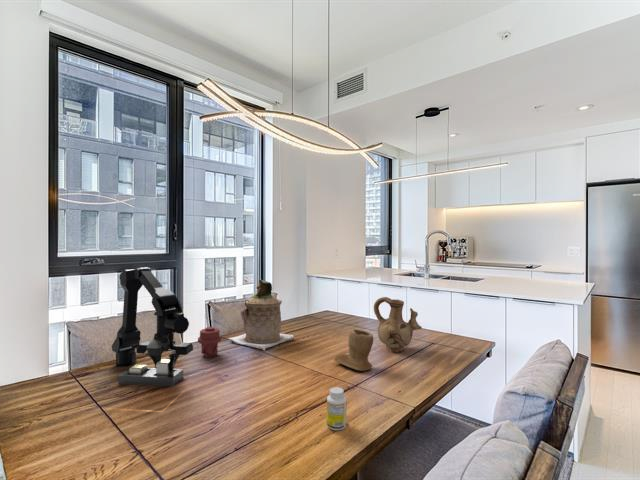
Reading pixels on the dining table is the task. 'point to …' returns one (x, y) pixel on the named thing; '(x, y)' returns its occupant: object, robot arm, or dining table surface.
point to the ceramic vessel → (395, 325)
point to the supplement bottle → (336, 409)
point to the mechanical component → (209, 341)
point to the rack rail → (150, 378)
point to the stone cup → (357, 351)
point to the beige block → (138, 369)
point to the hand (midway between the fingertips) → (164, 371)
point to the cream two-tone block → (163, 368)
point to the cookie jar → (262, 320)
